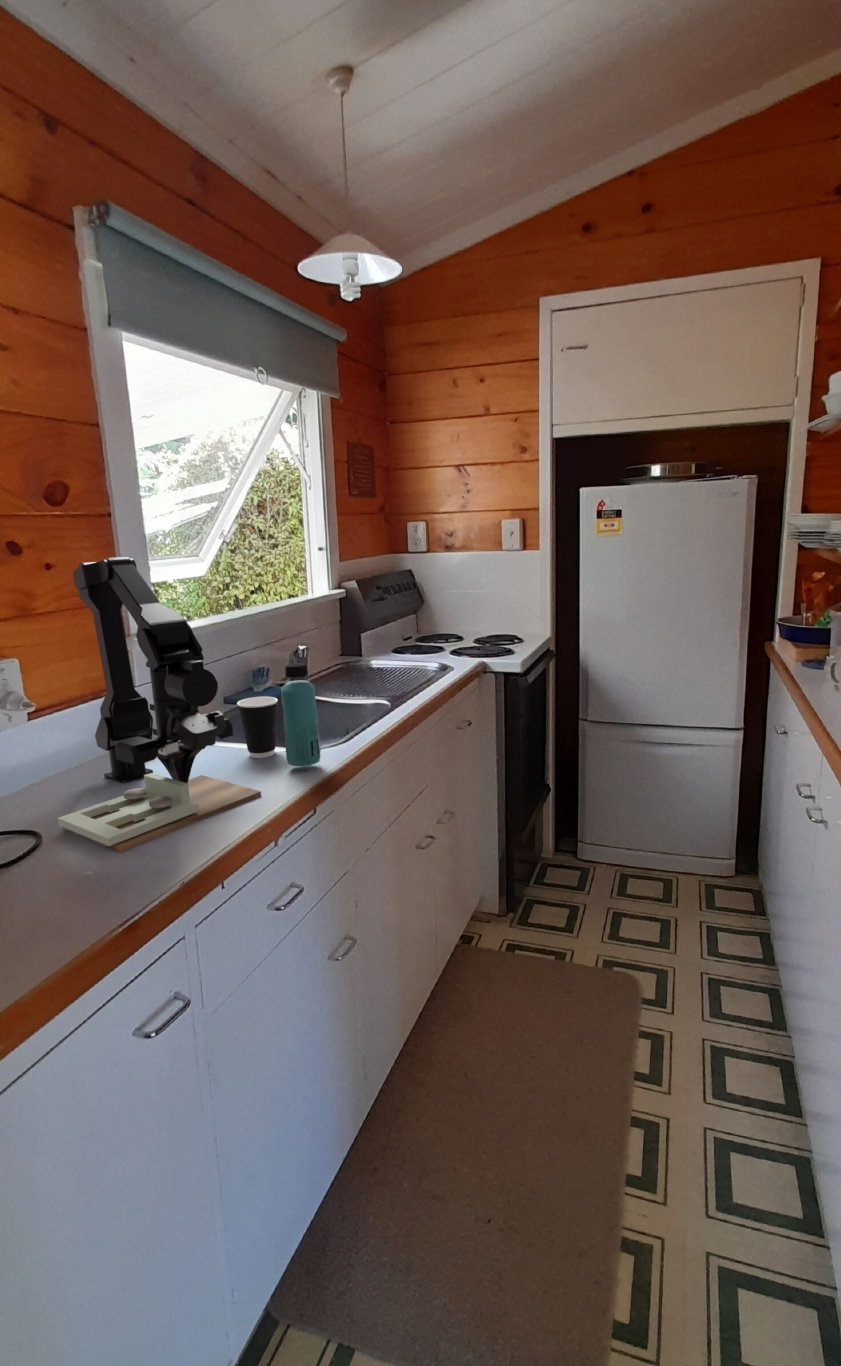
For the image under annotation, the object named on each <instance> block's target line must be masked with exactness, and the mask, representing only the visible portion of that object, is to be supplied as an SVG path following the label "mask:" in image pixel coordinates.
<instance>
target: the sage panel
mask: <svg viewBox="0 0 841 1366" xmlns="http://www.w3.org/2000/svg"><path fill="white" fill-rule="evenodd" d="M143 780H144V781H143V782H144V788H143V789H146V795H145V796H144V797H141V801H140V802H137V803H134V804H131V801H130V799H125V798H124V795H121V796H119V797H115V798H113V799H109V800H105V801H104V802H100V803H97V804H95V805H92V806H89V807H85V808H83V809H80V810H77V811H74V812H71V813H68V814H66V815H63V816H59V817H57V823H58V826H60V827H62V828H63V827H64V828H66V829H69V830H71V831H74V832H76V833H78V834H81V835H83V836H85V837H88V838H90V839H93V840H95V841H97V842H100V843H102V844H105V845H107V846H111V845H114V844H116V843H119V842H121V841H124V840H126V839H129V838H132V837H134V836H137V835H139V834H142V833H144V832H147V831H149V830H152V829H155V828H157V827H160V826H162V825H165V824H167V823H170V822H172V821H175V820H178V819H180V818H183V817H185V816H188V815H190V814H193V813H195V812H198V811H199V810H198V804H196V803H193V802H190V797H189V788H188V784H187V783H184V782H181V781H177V780H174V779H172V778H170V777H166V776H164V775H160V774H156V773H154V772H153V773H149V774H146V775H144V776H143ZM163 796H168V797H171V798H172V804H171V805H169V806H167V810H165V811H162V812H160V813H156V808H151V807H150V806H149V801H150V800H151V799H154V798H157V797H163ZM117 810H119V811H118V812H115V813H112V814H109V815H106V816H104V817H101V818H98V819H92V818H90V817H93V816H96V815H99V814H102V813H105V812H110V813H111V812H114V811H117ZM142 819H145V821H142V822H140V823H137V824H134V825H132V826H129V827H126V828H124V829H118V828H116V827H117V826H119V825H122V824H125V823H128V822H130V821H134V822H137V821H140V820H142ZM66 829H65V830H66ZM78 834H77V835H78ZM85 837H84V838H85ZM97 842H96V843H97Z"/></svg>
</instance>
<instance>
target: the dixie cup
mask: <svg viewBox="0 0 841 1366" xmlns="http://www.w3.org/2000/svg"><path fill="white" fill-rule="evenodd" d="M277 703H278V698H276V697H273V696H254V697H248V698H244V699H240V700H238V701H237V703H236V705H237V706H238V708H239V714H240V718H241V723H242V729H243V733H244V737H245V742H246V748H247V751H248V753H249V756H250V757H251V758H254V759H263V758H268V757H272V756H273V755H274V754H275V749H276V740H277V738H276V737H277V706H278V705H277Z"/></svg>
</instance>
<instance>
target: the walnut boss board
mask: <svg viewBox="0 0 841 1366" xmlns="http://www.w3.org/2000/svg"><path fill="white" fill-rule="evenodd" d="M188 788H189V797H190V802H193V803H196V804H198V810H199V811H198V812H195V813H193V814H190V815H188V816H185V817H183V818H180V819H178V820H175V821H172V822H170V823H167V824H165V825H162V826H160V827H157V828H155V829H152V830H149V831H147V832H144V833H142V834H139V835H137V836H134V837H132V838H129V839H126V840H124V841H121V842H119V843H116V844H114V845H111V846H107V845H105V844H102V843H100V842H97V841H95V840H93V839H90V838H88V837H85V836H83V835H81V834H78V833H76V832H74V831H71V830H69V829H66V828H64V827H62V829H64V830H66V831H69V832H71V833H73V834H76V835H78V836H80V837H82V838H85V839H88V840H90V841H92V842H94V843H97V844H99V845H101V846H104V847H107V848H108V849H111V850H113V851H116V852H118V853H123V852H125V851H128V850H130V849H133V848H134V847H138V846H140V845H143V844H145V843H147V842H150V841H154V840H155V839H157V838H160V837H163V836H165V835H167V834H169V833H172V832H174V831H177V830H179V829H182V828H185V827H187V826H189V825H192V824H195V823H198V822H199V821H203V820H204V819H207V818H210V817H212V816H215V815H217V814H219V813H222V812H225V811H228V810H230V809H232V808H235V807H237V806H239V805H243V804H245V803H247V802H250V801H252V800H254V799H257V798H259V797H261V796H262V792H261V791H260V790H257V789H254V788H250V787H247V786H242V785H240V784H239V785H238V784H235V783H231V782H229V781H224V780H220V779H218V778H214V777H209V776H206V775H203V774H201V775H198V776H196V777H192V778H189V780H188ZM145 795H146V789H144V788H141V787H140V788H139V787H138V788H131V789H128V790H125V791H124V792H123V796H124V798H125V799H130V801H131V804H134V803H137V802H140V801H141V797H144V796H145ZM171 804H172V798H171V797H168V796H163V797H157V798H154V799H151V800H150V801H149V806H150V807H151V808H156V813H160V812H162V811H165V810H167V806H169V805H171ZM118 811H119V810H117V811H114V812H111V813H110V812H105V813H102V814H99V815H96V816H93V817H90V818H92V819H98V818H101V817H104V816H106V815H109V814H112V813H115V812H118ZM142 821H145V819H142V820H140V821H137V822H134V821H130V822H128V823H125V824H122V825H119V826H117V827H116V828H118V829H124V828H126V827H129V826H132V825H134V824H137V823H140V822H142Z"/></svg>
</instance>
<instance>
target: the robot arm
mask: <svg viewBox="0 0 841 1366" xmlns="http://www.w3.org/2000/svg"><path fill="white" fill-rule="evenodd" d="M72 579H73V584H74V587H75V589H76V590H77V592H78V596H79V599H80V600H81V602H82V603H83V604H84V605H85V606H86V607H87V608H88V610H90V612H91V613H92V617H93V623H94V629H95V633H96V634H95V635H96V639H97V645H98V650H99V656H100V661H101V667H102V673H103V679H104V684H105V691H106V693H105V695H104V698H103V700H102V702H101V705H100V707H99V712H100V719H99V721H98V726H97V728H96V731H95V734H94V738H95V742H96V745H97V747H98V748H100V749H102V750H104V751H106V752H108V756H109V763H110V772H106V773H104V774H103V777H104V778H106V779H110V780H113V781H116V782H120V783H127V782H129V781H132V780H135V779H138V778H142V777H144V775H146V774H149V773H153V774H154V770H153V769H151V768H146V763H148V762H151V761H155V759H156V758H157V759H158V760H159V761H160V762H161V764H162V765H163V766H164V768H165V769H166V771H167V772H168V774H169V776H170V777H171V779H174V780H177V781H181V782H184V783H187V784H188V780H189V779H190V776H191V771H192V768H193V764H194V761H195V759H196V757H197V755H198V754H199V753H200V752H201V751H202V750H205V749H206V747H208V746H209V747H210V746H211V747H212V746H214V745H216V743H217V742H216V741H217V739H218V740H222V739H226V738H229V737H232V736H234V734H235V733H234V725H233V723H232V722H231V720H230V719H228V718H225V714H224V713H223V712H222V711H220V710H216V711H212V712H209V713H205V714H201V713H200V711H199V707H204V706H206V705H209V704H210V703H211V702H213V700H214V699H215V698H216V695H217V693H218V689H219V685H218V684H219V683H218V681H217V678H216V676H215V675H214V674H213V673H212V672H211V671H210V670H207V669H205V668H204V660H205V659H204V658H205V657H204V654H203V648H202V646H201V644H200V642H199V641H198V639H197V637H196V636H195V634H194V631H193V629H192V627H191V626H190V624H188V621H187V620H186V619H185V618H184V617H183V616H182V615H181V614H180V613H179V612H178V611H177V610H175V609H172V608H170V607H167V606H164V605H163V603H162V602H161V600H159V598H158V597H157V596H156V594H155V593H154V591H153V590H152V588H151V587H150V586H149V584H148V583H147V581H146V580H145V579H144V577H143V576H142V575H141V573H140V572H139V571H138V569H137V563H136V562H135V559H134V558H132V557H129V556H120V557H119V556H118V557H116V556H115V557H106V558H104V559H101V560H99V561H89V562H80V563H79V564H78V567H77V568H75V569H74V570H73V572H72ZM123 605H124V607H125V608H126V610H127V611H128V612H129V614H130V616H131V617H132V619H133V620H134V622H135V623H136V626H137V629H136V635H135V638H136V640H137V643H138V646H139V648H140V651H141V652H142V653H143V655H144V657H145V658H146V660H147V661H146V662H145V666H146V667H147V668H148V669H149V673H150V682H151V683H150V684H151V691H152V699H153V702H152V703H149V701H148V700H147V698H146V697H145V696H142V695H141V694H140V693H139V692H138V691H137V690H136V689H135V688H136V687H135V684H134V683H135V682H134V678H133V672H132V666H131V660H130V655H129V651H128V650H129V649H128V642H127V637H126V632H125V631H126V630H125V626H124V621H123V615H122V607H123ZM151 711H153V712H154V716H155V724H156V726H155V727H154V726H153V725H154V719H153V715H152V714H151ZM153 735H154V736H157V737H155V738H153Z"/></svg>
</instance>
